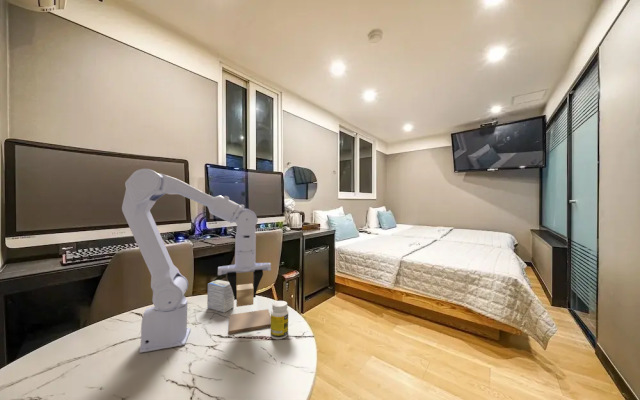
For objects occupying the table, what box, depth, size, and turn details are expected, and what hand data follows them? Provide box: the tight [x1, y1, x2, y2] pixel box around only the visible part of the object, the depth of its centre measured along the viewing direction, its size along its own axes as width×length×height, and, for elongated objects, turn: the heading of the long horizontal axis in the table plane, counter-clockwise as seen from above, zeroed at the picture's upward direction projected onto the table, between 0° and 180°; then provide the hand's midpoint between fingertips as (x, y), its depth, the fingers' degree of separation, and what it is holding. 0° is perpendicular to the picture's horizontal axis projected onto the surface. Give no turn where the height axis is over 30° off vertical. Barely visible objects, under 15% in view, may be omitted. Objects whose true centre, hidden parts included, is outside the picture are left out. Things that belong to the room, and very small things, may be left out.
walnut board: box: [228, 308, 271, 335], centre depth 69 cm, size 12×10×1 cm
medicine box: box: [206, 279, 235, 313], centre depth 78 cm, size 8×4×9 cm, turn 65°
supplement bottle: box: [270, 300, 289, 340], centre depth 62 cm, size 5×5×8 cm
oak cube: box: [236, 283, 255, 308], centre depth 66 cm, size 4×4×4 cm
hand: (244, 297), depth 66 cm, fingers closed on oak cube, 4 cm apart
